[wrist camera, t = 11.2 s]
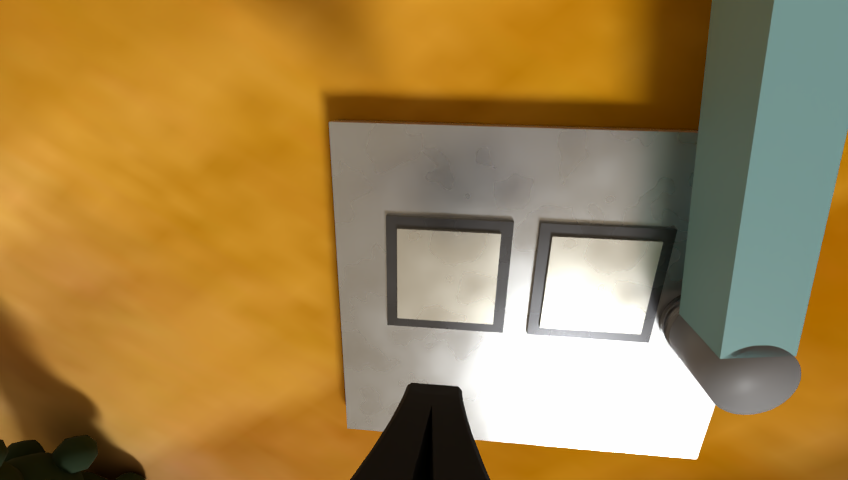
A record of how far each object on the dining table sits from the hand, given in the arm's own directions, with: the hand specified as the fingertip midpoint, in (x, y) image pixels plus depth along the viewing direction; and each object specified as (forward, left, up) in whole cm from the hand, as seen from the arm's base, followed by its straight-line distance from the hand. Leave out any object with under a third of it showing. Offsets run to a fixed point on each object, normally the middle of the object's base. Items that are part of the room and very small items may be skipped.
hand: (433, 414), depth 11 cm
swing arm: (-10, -6, -7) cm, 14 cm away
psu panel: (-4, +2, -9) cm, 10 cm away
